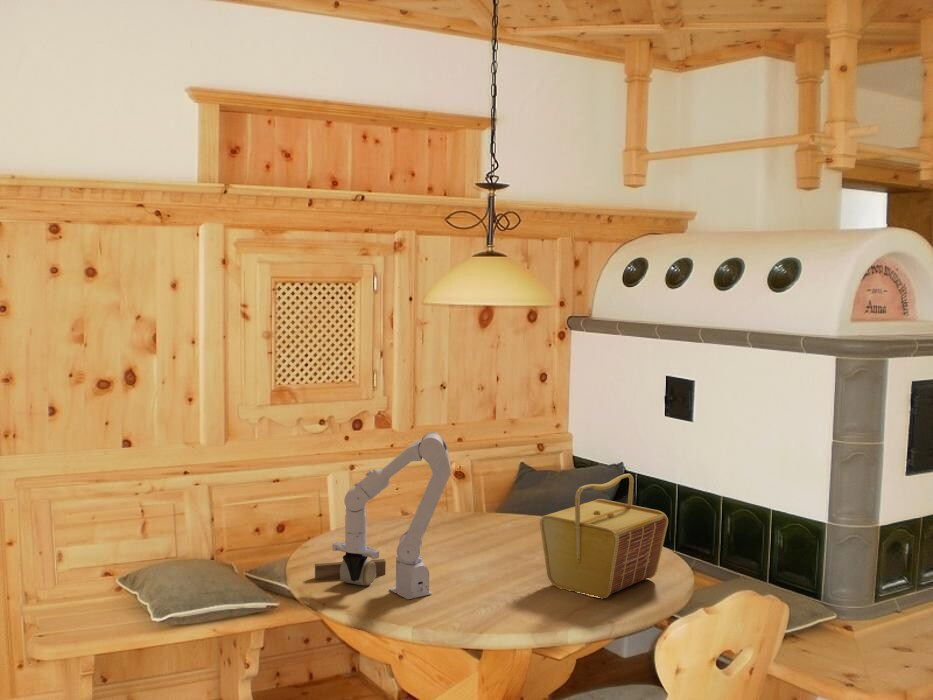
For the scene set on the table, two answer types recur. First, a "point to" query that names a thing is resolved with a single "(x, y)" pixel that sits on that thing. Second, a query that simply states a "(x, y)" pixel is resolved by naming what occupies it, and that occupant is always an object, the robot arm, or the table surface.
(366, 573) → the ceramic mug
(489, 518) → the table surface
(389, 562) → the table surface
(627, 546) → the picnic basket
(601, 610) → the table surface
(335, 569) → the rail
